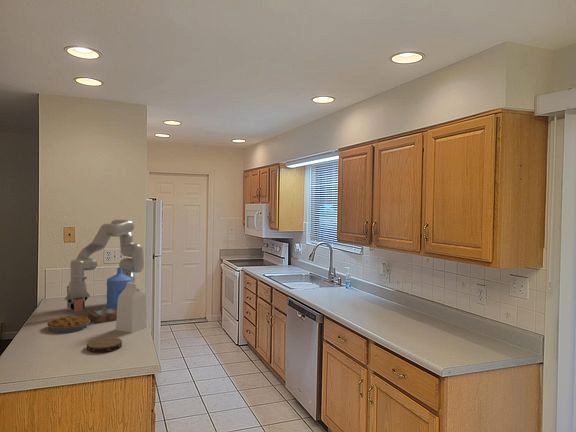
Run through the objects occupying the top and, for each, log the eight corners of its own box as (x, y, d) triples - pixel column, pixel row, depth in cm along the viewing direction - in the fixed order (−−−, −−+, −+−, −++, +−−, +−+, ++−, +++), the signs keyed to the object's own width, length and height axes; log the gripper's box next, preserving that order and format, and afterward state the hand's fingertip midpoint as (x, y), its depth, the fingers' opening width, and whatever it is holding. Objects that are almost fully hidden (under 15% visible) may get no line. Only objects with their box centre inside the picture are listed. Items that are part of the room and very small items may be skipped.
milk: (146, 327, 251) (147, 282, 251) (131, 332, 241) (132, 285, 240) (131, 324, 256) (131, 280, 256) (115, 329, 246) (116, 283, 245)
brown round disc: (108, 341, 227) (108, 335, 227) (128, 346, 219) (128, 340, 219) (79, 349, 213) (79, 343, 213) (100, 356, 205) (100, 349, 205)
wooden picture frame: (114, 314, 278) (114, 307, 278) (122, 319, 267) (122, 312, 267) (87, 318, 268) (87, 311, 268) (94, 323, 257) (95, 315, 257)
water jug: (100, 311, 285) (101, 268, 284) (118, 306, 299) (119, 265, 298) (119, 314, 279) (120, 270, 278) (136, 308, 293) (137, 267, 292)
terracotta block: (80, 308, 276) (80, 297, 276) (83, 310, 272) (83, 299, 272) (72, 309, 273) (72, 298, 272) (74, 311, 269) (74, 300, 269)
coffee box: (76, 307, 294) (76, 283, 293) (84, 308, 292) (84, 284, 292) (66, 310, 285) (66, 286, 284) (75, 311, 283) (75, 286, 283)
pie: (96, 328, 249) (96, 319, 249) (55, 336, 233) (55, 326, 232) (80, 320, 264) (80, 312, 263) (41, 327, 247) (41, 318, 247)
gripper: (90, 277, 280) (90, 305, 281) (60, 280, 269) (61, 309, 270) (93, 279, 274) (93, 307, 275) (63, 282, 263) (64, 312, 264)
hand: (77, 308), depth 273 cm, fingers closed on terracotta block, 5 cm apart
